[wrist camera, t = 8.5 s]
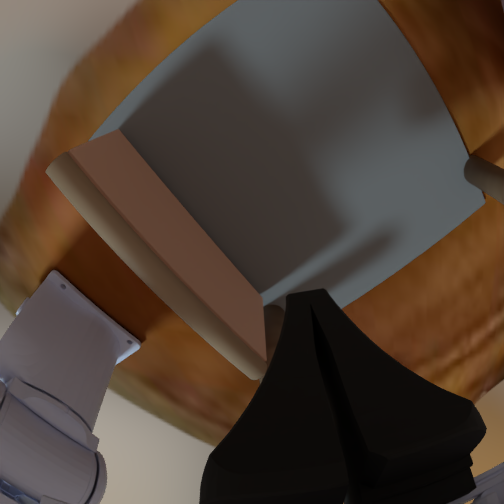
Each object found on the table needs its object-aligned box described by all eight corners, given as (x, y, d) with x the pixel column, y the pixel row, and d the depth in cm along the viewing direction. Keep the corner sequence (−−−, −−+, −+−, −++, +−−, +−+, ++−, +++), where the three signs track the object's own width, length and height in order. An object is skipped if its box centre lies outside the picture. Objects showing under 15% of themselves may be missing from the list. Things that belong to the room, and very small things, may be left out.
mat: (75, 159, 17) (73, 160, 17) (327, -51, 11) (329, -53, 11) (274, 346, 25) (274, 349, 24) (483, 201, 19) (485, 202, 18)
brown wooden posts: (251, 311, 23) (253, 418, 15) (475, 149, 17) (569, 198, 9) (268, 326, 24) (276, 430, 16) (484, 172, 18) (572, 228, 10)
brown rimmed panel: (262, 297, 21) (267, 374, 16) (248, 306, 22) (248, 383, 16) (118, 128, 16) (57, 155, 10) (104, 142, 16) (41, 175, 10)
